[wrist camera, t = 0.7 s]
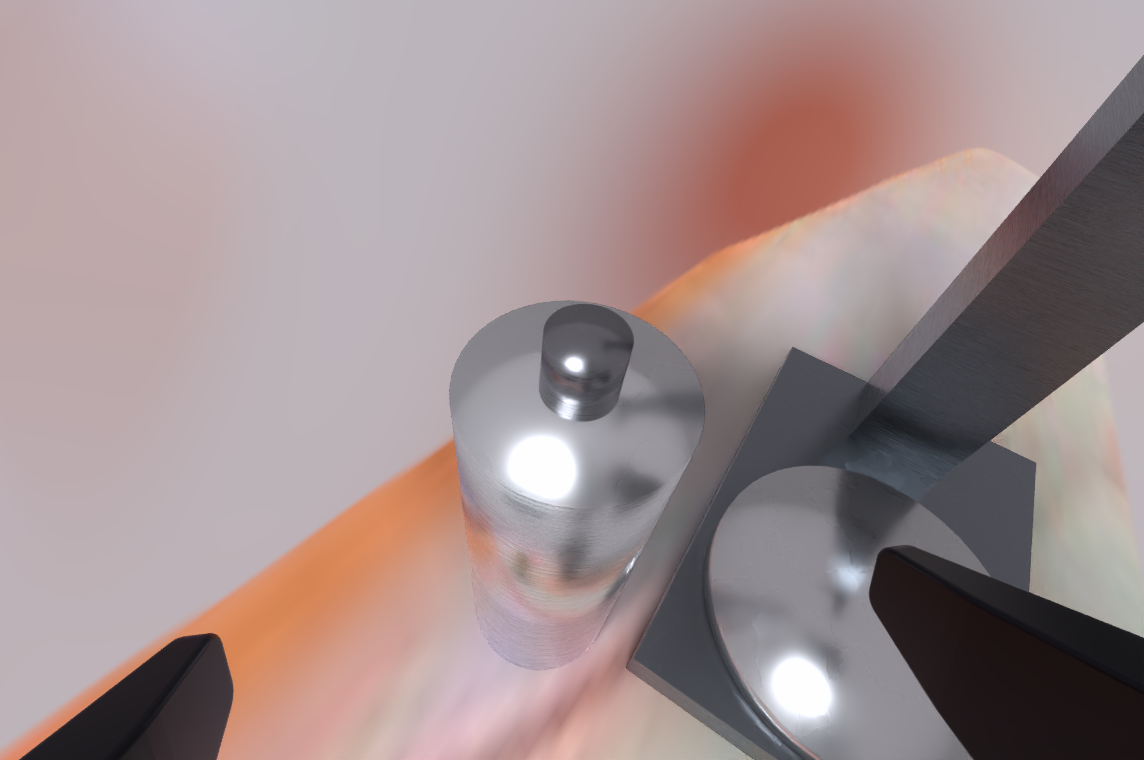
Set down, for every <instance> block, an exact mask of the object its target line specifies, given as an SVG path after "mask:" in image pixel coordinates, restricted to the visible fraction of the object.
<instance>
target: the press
mask: <svg viewBox="0 0 1144 760" xmlns="http://www.w3.org/2000/svg"><path fill="white" fill-rule="evenodd" d="M1143 322H1144V55H1143V57H1142V58H1141V59H1140V60H1139V61H1138V63H1137V64H1136V65H1135V66H1134V67H1133V68H1132V70H1131V71H1130V72H1129V73H1128V74H1127V76H1126V77H1125V78H1124V79H1123V80H1122V82H1121V83H1120V84H1119V85H1118V86H1117V88H1116V89H1115V90H1114V91H1113V92H1112V93H1111V95H1110V96H1109V97H1108V98H1107V99H1106V101H1105V102H1104V103H1103V104H1102V105H1101V107H1100V108H1099V109H1098V110H1097V111H1096V112H1095V114H1094V115H1093V116H1092V117H1091V118H1090V120H1089V121H1088V122H1087V123H1086V124H1085V125H1084V127H1083V128H1082V129H1081V130H1080V131H1079V133H1078V134H1077V135H1076V136H1075V137H1074V138H1073V140H1072V141H1071V142H1070V143H1069V144H1068V146H1067V147H1066V148H1065V149H1064V150H1063V152H1062V153H1061V154H1060V155H1059V156H1058V158H1057V159H1056V160H1055V161H1054V162H1053V164H1052V165H1051V166H1050V167H1049V168H1048V169H1047V171H1046V172H1045V173H1044V174H1043V175H1042V176H1041V178H1040V179H1039V180H1038V181H1037V182H1036V184H1035V185H1034V186H1033V187H1032V188H1031V190H1030V191H1029V192H1028V193H1027V194H1026V195H1025V197H1024V198H1023V199H1022V200H1021V201H1020V203H1019V204H1018V205H1017V206H1016V207H1015V209H1014V210H1013V211H1012V212H1011V213H1010V214H1009V216H1008V217H1007V218H1006V219H1005V220H1004V222H1003V223H1002V224H1001V225H1000V226H999V228H998V229H997V230H996V231H995V232H994V233H993V235H992V236H991V237H990V238H989V239H988V241H987V242H986V243H985V244H984V245H983V247H982V248H981V249H980V250H979V251H978V252H977V254H976V255H975V256H974V257H973V258H972V260H971V261H970V262H969V263H968V264H967V266H966V267H965V268H964V269H963V270H962V271H961V273H960V274H959V275H958V276H957V277H956V279H955V280H954V281H953V282H952V283H951V285H950V286H949V287H948V288H947V289H946V290H945V292H944V293H943V294H942V295H941V296H940V298H939V299H938V300H937V301H936V302H935V304H934V305H933V306H932V307H931V308H930V309H929V311H928V312H927V313H926V314H925V315H924V317H923V318H922V319H921V320H920V321H919V323H918V324H917V325H916V326H915V327H914V328H913V330H912V331H911V332H910V333H909V334H908V336H907V337H906V338H905V339H904V340H903V342H902V343H901V344H900V345H899V346H898V347H897V349H896V350H895V351H894V352H893V353H892V355H891V356H890V357H889V358H888V359H887V361H886V362H885V363H884V364H883V365H882V366H881V368H880V369H879V370H878V371H877V372H876V374H875V375H874V376H873V377H872V378H871V379H870V381H869V382H868V383H867V382H865V381H863V380H861V379H859V378H857V377H855V376H853V375H851V374H849V373H846V372H844V371H842V370H840V369H838V368H836V367H834V366H832V365H830V364H828V363H825V362H823V361H821V360H819V359H817V358H815V357H813V356H811V355H809V354H807V353H804V352H802V351H800V350H798V349H796V348H794V347H792V349H791V351H790V352H789V354H788V355H787V357H786V359H785V360H784V362H783V363H782V365H781V367H780V369H779V371H778V373H777V375H776V377H775V379H774V381H773V383H772V384H771V386H770V388H769V390H768V392H767V394H766V396H765V398H764V400H763V402H762V404H761V406H760V408H759V410H758V412H757V414H756V416H755V418H754V419H753V421H752V423H751V425H750V427H749V429H748V431H747V433H746V435H745V437H744V439H743V441H742V443H741V445H740V447H739V449H738V451H737V452H736V454H735V456H734V458H733V460H732V462H731V464H730V466H729V468H728V470H727V472H726V474H725V476H724V478H723V480H722V482H721V484H720V486H719V487H718V489H717V491H716V493H715V495H714V497H713V499H712V501H711V503H710V505H709V507H708V509H707V511H706V513H705V515H704V517H703V519H702V521H701V522H700V524H699V526H698V528H697V530H696V532H695V534H694V536H693V538H692V540H691V542H690V544H689V546H688V548H687V550H686V552H685V554H684V555H683V557H682V559H681V561H680V563H679V565H678V567H677V569H676V571H675V573H674V575H673V577H672V579H671V581H670V583H669V585H668V587H667V589H666V590H665V592H664V594H663V596H662V598H661V600H660V602H659V604H658V606H657V608H656V610H655V612H654V614H653V616H652V618H651V620H650V622H649V624H648V625H647V627H646V629H645V631H644V633H643V635H642V637H641V639H640V641H639V643H638V645H637V647H636V649H635V651H634V653H633V655H632V657H631V658H630V660H629V662H628V664H627V666H626V669H628V670H629V671H631V672H632V673H633V674H635V675H636V676H638V677H639V678H640V679H642V680H643V681H645V682H646V683H647V684H649V685H650V686H652V687H653V688H654V689H656V690H657V691H659V692H660V693H661V694H663V695H664V696H666V697H667V698H669V699H670V700H671V701H673V702H674V703H676V704H677V705H678V706H680V707H681V708H683V709H684V710H685V711H687V712H688V713H690V714H691V715H692V716H694V717H695V718H697V719H698V720H699V721H701V722H702V723H704V724H705V725H706V726H708V727H709V728H711V729H712V730H713V731H715V732H716V733H718V734H719V735H720V736H722V737H723V738H725V739H726V740H728V741H729V742H730V743H732V744H733V745H735V746H736V747H737V748H739V749H740V750H742V751H743V752H744V753H746V754H747V755H749V756H750V757H751V758H753V759H754V760H973V759H972V758H971V756H970V755H969V754H968V752H967V751H966V750H965V748H964V747H963V746H962V744H961V743H960V742H959V740H958V739H957V738H956V736H955V735H954V734H953V732H952V731H951V730H950V728H949V727H948V725H947V724H946V723H945V721H944V720H943V718H942V717H941V716H940V714H939V713H938V711H937V710H936V708H935V707H934V705H933V704H932V702H931V701H930V699H929V698H928V696H927V695H926V693H925V692H924V690H923V688H922V687H921V685H920V684H919V682H918V680H917V679H916V677H915V676H914V674H913V673H912V671H911V669H910V668H909V666H908V665H907V663H906V661H905V660H904V658H903V657H902V655H901V653H900V652H899V650H898V649H897V647H896V645H895V644H894V642H893V641H892V639H891V637H890V636H889V634H888V633H887V631H886V629H885V628H884V626H883V625H882V623H881V622H880V620H879V618H878V617H877V615H876V614H875V612H874V610H873V608H872V606H871V604H870V600H869V587H870V583H871V579H872V575H873V571H874V566H875V562H876V558H877V555H878V553H879V552H880V550H881V549H883V548H885V547H891V546H899V545H910V546H914V547H916V548H919V549H921V550H924V551H926V552H929V553H931V554H934V555H937V556H939V557H942V558H944V559H947V560H949V561H952V562H954V563H957V564H959V565H962V566H964V567H967V568H969V569H972V570H974V571H977V572H979V573H982V574H984V575H987V576H989V577H992V578H994V579H997V580H999V581H1002V582H1005V583H1007V584H1010V585H1012V586H1015V587H1017V588H1020V589H1022V590H1025V591H1027V592H1029V582H1030V564H1031V546H1032V528H1033V509H1034V491H1035V473H1036V463H1035V462H1033V461H1031V460H1029V459H1027V458H1025V457H1023V456H1020V455H1018V454H1016V453H1014V452H1012V451H1010V450H1008V449H1006V448H1004V447H1002V446H1000V445H997V444H995V443H993V442H991V441H990V440H991V439H993V438H994V437H995V436H996V435H998V434H999V433H1000V432H1002V431H1003V430H1004V429H1006V428H1007V427H1008V426H1009V425H1011V424H1012V423H1013V422H1015V421H1016V420H1017V419H1018V418H1020V417H1021V416H1022V415H1024V414H1025V413H1026V412H1028V411H1029V410H1030V409H1031V408H1033V407H1034V406H1035V405H1037V404H1038V403H1039V402H1041V401H1042V400H1043V399H1044V398H1046V397H1047V396H1048V395H1050V394H1051V393H1052V392H1053V391H1055V390H1056V389H1057V388H1059V387H1060V386H1061V385H1063V384H1064V383H1065V382H1066V381H1068V380H1069V379H1070V378H1072V377H1073V376H1074V375H1076V374H1077V373H1078V372H1079V371H1081V370H1082V369H1083V368H1085V367H1086V366H1087V365H1088V364H1090V363H1091V362H1092V361H1094V360H1095V359H1096V358H1098V357H1099V356H1100V355H1101V354H1103V353H1104V352H1105V351H1107V350H1108V349H1109V348H1110V347H1112V346H1113V345H1114V344H1116V343H1117V342H1118V341H1120V340H1121V339H1122V338H1123V337H1125V336H1126V335H1127V334H1129V333H1130V332H1131V331H1132V330H1134V329H1135V328H1136V327H1138V326H1139V325H1140V324H1142V323H1143Z"/></svg>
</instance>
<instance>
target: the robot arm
mask: <svg viewBox="0 0 1144 760" xmlns="http://www.w3.org/2000/svg"><path fill="white" fill-rule="evenodd" d="M869 600H870V604H871V606H872V608H873V610H874V612H875V614H876V615H877V617H878V618H879V620H880V622H881V623H882V625H883V626H884V628H885V629H886V631H887V633H888V634H889V636H890V637H891V639H892V641H893V642H894V644H895V645H896V647H897V649H898V650H899V652H900V653H901V655H902V657H903V658H904V660H905V661H906V663H907V665H908V666H909V668H910V669H911V671H912V673H913V674H914V676H915V677H916V679H917V680H918V682H919V684H920V685H921V687H922V688H923V690H924V692H925V693H926V695H927V696H928V698H929V699H930V701H931V702H932V704H933V705H934V707H935V708H936V710H937V711H938V713H939V714H940V716H941V717H942V718H943V720H944V721H945V723H946V724H947V725H948V727H949V728H950V730H951V731H952V732H953V734H954V735H955V736H956V738H957V739H958V740H959V742H960V743H961V744H962V746H963V747H964V748H965V750H966V751H967V752H968V754H969V755H970V756H971V758H972V759H973V760H1144V638H1143V637H1140V636H1138V635H1135V634H1133V633H1130V632H1128V631H1125V630H1123V629H1120V628H1118V627H1115V626H1113V625H1110V624H1108V623H1105V622H1103V621H1100V620H1098V619H1095V618H1093V617H1090V616H1088V615H1085V614H1083V613H1080V612H1078V611H1075V610H1072V609H1070V608H1067V607H1065V606H1062V605H1060V604H1057V603H1055V602H1052V601H1050V600H1047V599H1045V598H1042V597H1040V596H1037V595H1035V594H1032V593H1030V592H1027V591H1025V590H1022V589H1020V588H1017V587H1015V586H1012V585H1010V584H1007V583H1005V582H1002V581H999V580H997V579H994V578H992V577H989V576H987V575H984V574H982V573H979V572H977V571H974V570H972V569H969V568H967V567H964V566H962V565H959V564H957V563H954V562H952V561H949V560H947V559H944V558H942V557H939V556H937V555H934V554H931V553H929V552H926V551H924V550H921V549H919V548H916V547H914V546H910V545H899V546H891V547H885V548H883V549H881V550H880V552H879V553H878V555H877V558H876V562H875V566H874V571H873V575H872V579H871V583H870V587H869ZM232 701H233V682H232V678H231V674H230V670H229V666H228V663H227V659H226V655H225V651H224V648H223V644H222V641H221V639H220V638H219V636H218V635H216V634H213V633H207V634H199V635H192V636H184V637H180V638H177V639H175V640H174V641H172V642H171V643H169V644H168V645H167V646H165V647H164V648H163V649H161V650H160V651H159V652H158V653H156V654H155V655H154V656H152V657H151V658H150V659H149V660H147V661H146V662H145V663H143V664H142V665H141V666H140V667H138V668H137V669H136V670H134V671H133V672H132V673H130V674H129V675H128V676H127V677H125V678H124V679H123V680H121V681H120V682H119V683H118V684H116V685H115V686H114V687H112V688H111V689H110V690H109V691H107V692H106V693H105V694H103V695H102V696H101V697H99V698H98V699H97V700H96V701H94V702H93V703H92V704H90V705H89V706H88V707H87V708H85V709H84V710H83V711H81V712H80V713H79V714H78V715H76V716H75V717H74V718H72V719H71V720H70V721H68V722H67V723H66V724H65V725H63V726H62V727H61V728H59V729H58V730H57V731H56V732H54V733H53V734H52V735H50V736H49V737H48V738H47V739H45V740H44V741H43V742H41V743H40V744H39V745H37V746H36V747H35V748H34V749H32V750H31V751H30V752H28V753H27V754H26V755H25V756H23V757H22V758H21V759H19V760H217V756H218V753H219V749H220V746H221V742H222V738H223V735H224V731H225V728H226V724H227V721H228V717H229V713H230V710H231V706H232Z"/></svg>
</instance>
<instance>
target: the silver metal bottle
mask: <svg viewBox="0 0 1144 760" xmlns="http://www.w3.org/2000/svg"><path fill="white" fill-rule="evenodd" d="M449 392H450V393H449V395H450V409H451V418H452V425H453V433H454V441H455V449H456V457H457V465H458V473H459V481H460V489H461V497H462V504H463V512H464V520H465V528H466V536H467V544H468V552H469V560H470V568H471V576H472V583H473V591H474V599H475V607H476V614H477V619H478V622H479V626H480V628H481V631H482V633H483V635H484V637H485V638H486V640H487V641H488V643H489V644H490V645H491V647H492V648H493V649H494V650H495V651H496V652H497V653H498V654H499V655H501V656H502V657H503V658H505V659H506V660H508V661H509V662H511V663H513V664H515V665H518V666H521V667H524V668H528V669H535V670H546V669H553V668H557V667H560V666H563V665H566V664H568V663H570V662H572V661H573V660H575V659H577V658H578V657H580V656H581V655H582V654H583V653H584V652H585V651H586V650H587V649H588V648H589V647H590V646H591V645H592V643H593V642H594V640H595V639H596V637H597V636H598V634H599V632H600V630H601V628H602V626H603V624H604V622H605V620H606V619H607V617H608V615H609V613H610V611H611V609H612V607H613V605H614V603H615V602H616V600H617V598H618V596H619V594H620V592H621V590H622V588H623V586H624V584H625V583H626V581H627V579H628V577H629V575H630V573H631V571H632V569H633V567H634V565H635V564H636V562H637V560H638V558H639V556H640V554H641V552H642V550H643V548H644V546H645V545H646V543H647V541H648V539H649V537H650V535H651V533H652V531H653V529H654V527H655V526H656V524H657V522H658V520H659V518H660V516H661V514H662V512H663V510H664V508H665V507H666V505H667V503H668V501H669V499H670V497H671V495H672V493H673V491H674V489H675V488H676V486H677V484H678V482H679V480H680V478H681V476H682V474H683V472H684V470H685V469H686V467H687V465H688V463H689V461H690V459H691V457H692V455H693V453H694V451H695V449H696V447H697V445H698V443H699V441H700V438H701V434H702V431H703V427H704V418H705V405H704V397H703V393H702V388H701V385H700V382H699V380H698V377H697V375H696V373H695V371H694V369H693V367H692V365H691V364H690V362H689V361H688V359H687V358H686V357H685V355H684V354H683V352H682V351H681V350H680V349H679V348H678V347H677V346H676V345H675V344H674V343H673V342H672V341H671V340H670V339H669V338H668V337H667V336H665V335H664V334H663V333H662V332H661V331H659V330H658V329H656V328H655V327H653V326H652V325H651V324H649V323H647V322H645V321H643V320H642V319H640V318H638V317H636V316H634V315H631V314H629V313H627V312H624V311H621V310H619V309H616V308H613V307H609V306H605V305H600V304H596V303H589V302H582V301H552V302H543V303H538V304H533V305H529V306H525V307H522V308H519V309H516V310H513V311H511V312H509V313H506V314H504V315H502V316H500V317H498V318H497V319H495V320H494V321H492V322H490V323H489V324H487V325H486V326H485V327H484V328H482V329H481V330H480V331H479V332H478V333H477V334H476V335H475V336H474V337H473V338H472V339H471V340H470V341H469V342H468V344H467V345H466V346H465V348H464V349H463V351H462V352H461V354H460V356H459V358H458V359H457V362H456V364H455V367H454V370H453V373H452V375H451V382H450V390H449Z"/></svg>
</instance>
